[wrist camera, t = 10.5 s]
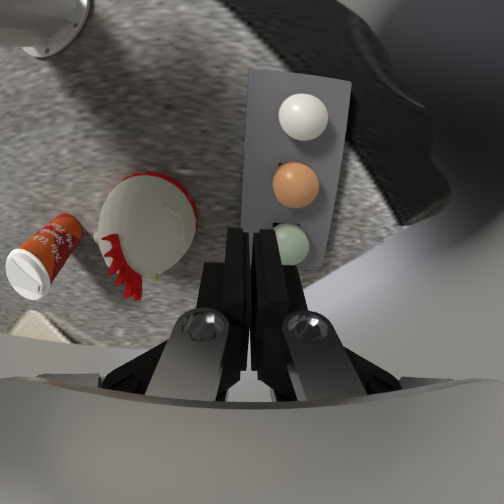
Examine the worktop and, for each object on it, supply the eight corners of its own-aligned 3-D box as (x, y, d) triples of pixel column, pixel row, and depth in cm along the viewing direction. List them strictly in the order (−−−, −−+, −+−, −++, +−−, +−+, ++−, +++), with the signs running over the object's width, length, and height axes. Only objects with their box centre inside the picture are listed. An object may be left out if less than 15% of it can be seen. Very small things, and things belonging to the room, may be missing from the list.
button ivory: (276, 90, 32) (281, 91, 27) (319, 95, 32) (330, 97, 28) (273, 131, 34) (277, 138, 30) (314, 135, 35) (325, 143, 30)
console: (248, 70, 32) (249, 69, 29) (343, 81, 32) (351, 81, 30) (239, 253, 45) (238, 265, 42) (317, 256, 46) (321, 267, 43)
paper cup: (92, 219, 41) (48, 272, 29) (82, 256, 44) (44, 311, 33) (53, 199, 39) (2, 244, 27) (46, 237, 42) (2, 285, 30)
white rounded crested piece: (133, 267, 46) (102, 334, 33) (93, 193, 39) (39, 244, 26) (212, 242, 44) (200, 313, 31) (174, 156, 37) (139, 197, 24)
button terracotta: (271, 153, 36) (275, 163, 32) (312, 156, 36) (322, 167, 32) (268, 192, 39) (271, 207, 34) (307, 194, 39) (315, 209, 35)
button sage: (266, 211, 40) (269, 228, 36) (304, 213, 40) (312, 230, 36) (263, 245, 43) (266, 265, 38) (299, 247, 43) (305, 266, 39)
